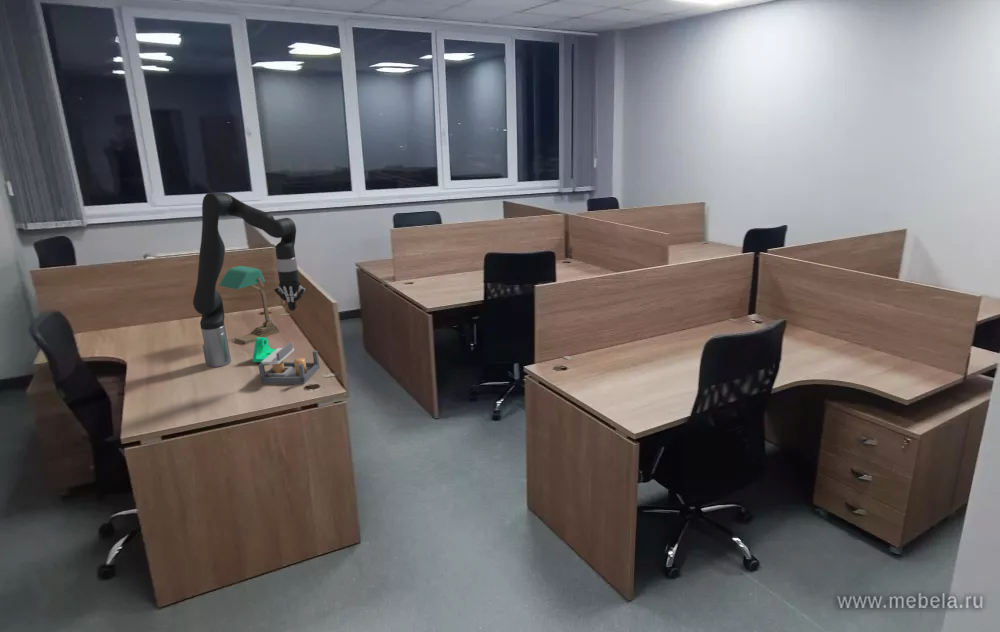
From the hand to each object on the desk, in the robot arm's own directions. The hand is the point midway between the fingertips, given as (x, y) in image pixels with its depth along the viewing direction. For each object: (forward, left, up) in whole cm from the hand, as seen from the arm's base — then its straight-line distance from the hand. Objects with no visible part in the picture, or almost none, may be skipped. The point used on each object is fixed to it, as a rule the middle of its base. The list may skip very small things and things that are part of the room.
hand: (292, 310), depth 238 cm
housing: (-2, -5, -27) cm, 27 cm away
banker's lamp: (-40, +40, -27) cm, 63 cm away
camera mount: (-20, +12, -27) cm, 36 cm away
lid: (-7, -5, -19) cm, 20 cm away
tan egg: (-7, -5, -26) cm, 27 cm away
